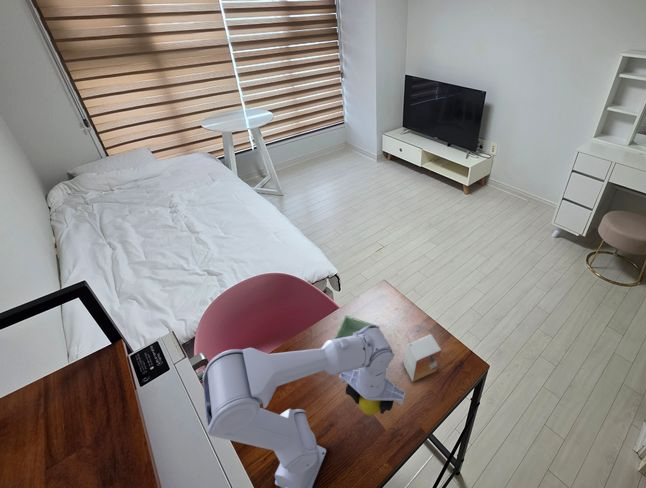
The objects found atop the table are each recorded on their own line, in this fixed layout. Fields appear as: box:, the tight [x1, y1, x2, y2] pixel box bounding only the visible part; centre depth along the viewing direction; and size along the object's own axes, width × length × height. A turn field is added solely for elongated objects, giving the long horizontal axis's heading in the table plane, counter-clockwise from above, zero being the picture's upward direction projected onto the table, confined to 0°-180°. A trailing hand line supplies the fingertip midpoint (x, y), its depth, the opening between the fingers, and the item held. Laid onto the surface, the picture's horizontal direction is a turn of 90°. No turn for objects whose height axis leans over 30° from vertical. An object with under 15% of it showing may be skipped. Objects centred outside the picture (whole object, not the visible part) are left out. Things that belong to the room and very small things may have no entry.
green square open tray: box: [333, 314, 380, 339], centre depth 98 cm, size 11×11×5 cm
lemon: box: [358, 395, 382, 416], centre depth 75 cm, size 6×6×8 cm
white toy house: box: [403, 333, 442, 383], centre depth 91 cm, size 8×6×10 cm
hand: (371, 404), depth 76 cm, fingers closed on lemon, 5 cm apart
